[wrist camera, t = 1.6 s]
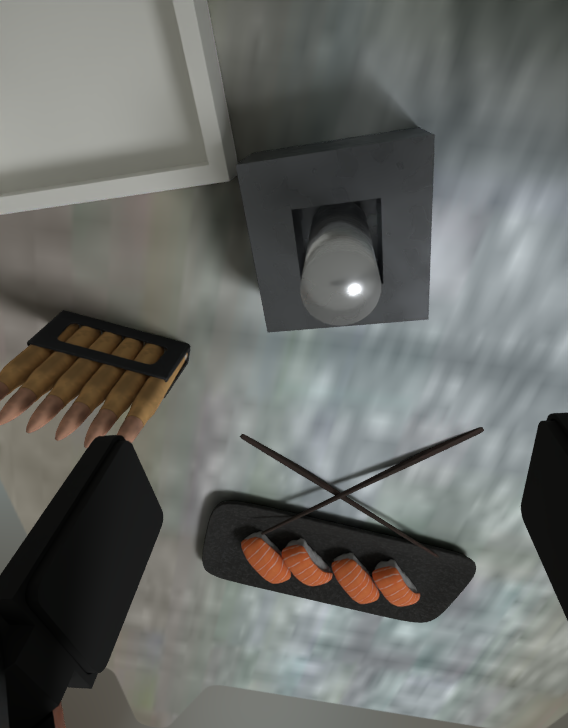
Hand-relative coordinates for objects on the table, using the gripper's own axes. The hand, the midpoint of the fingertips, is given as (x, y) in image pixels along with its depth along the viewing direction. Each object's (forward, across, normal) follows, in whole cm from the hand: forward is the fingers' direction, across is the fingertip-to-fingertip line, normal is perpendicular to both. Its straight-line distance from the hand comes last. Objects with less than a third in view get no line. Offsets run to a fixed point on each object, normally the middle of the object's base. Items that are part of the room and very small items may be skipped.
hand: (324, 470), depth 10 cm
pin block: (+22, -1, 0) cm, 22 cm away
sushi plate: (+23, 0, +30) cm, 37 cm away
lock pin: (+21, -1, 0) cm, 21 cm away
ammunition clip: (+22, +17, +7) cm, 29 cm away
